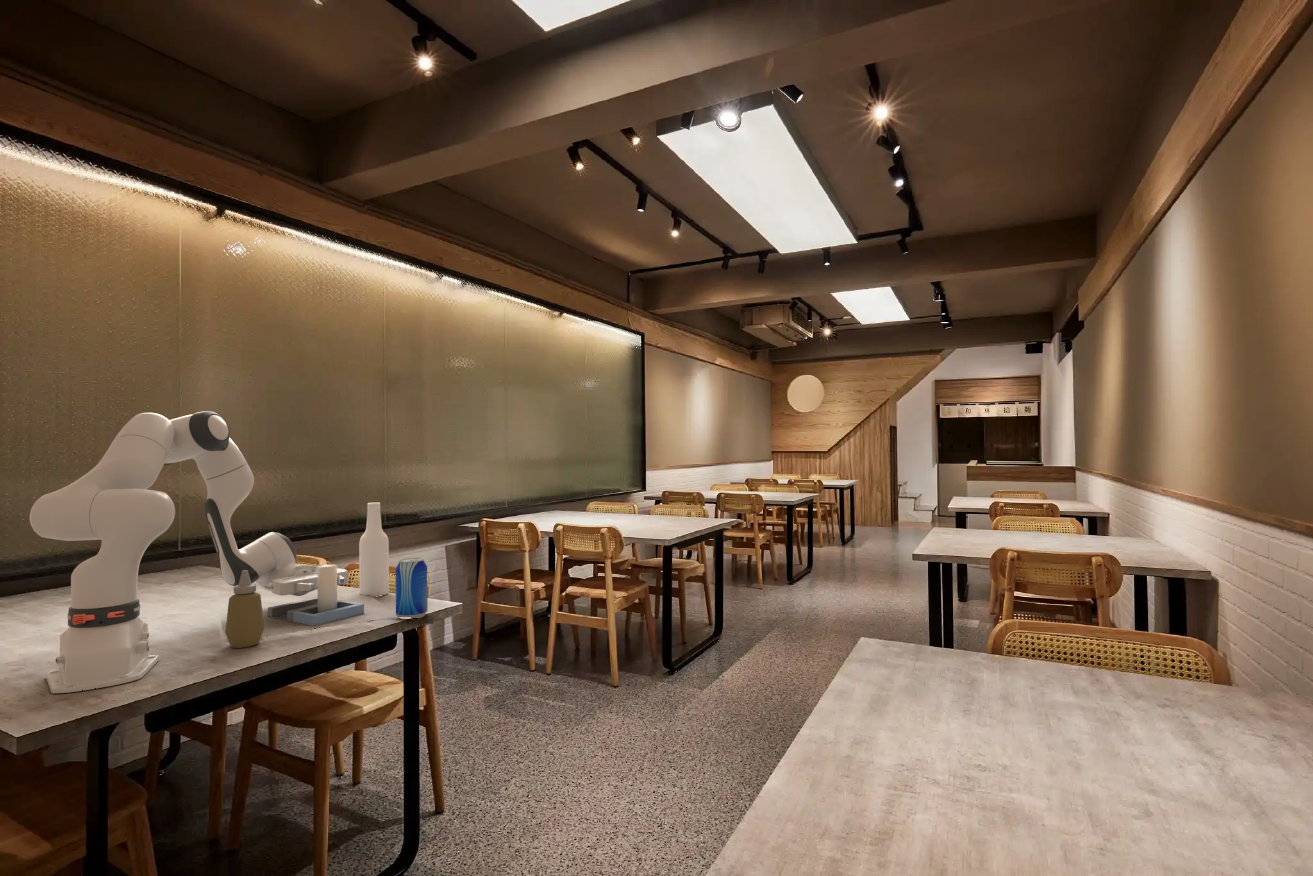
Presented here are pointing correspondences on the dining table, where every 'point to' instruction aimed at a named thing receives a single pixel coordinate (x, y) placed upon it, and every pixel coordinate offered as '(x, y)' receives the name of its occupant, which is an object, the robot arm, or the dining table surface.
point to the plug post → (327, 587)
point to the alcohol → (374, 555)
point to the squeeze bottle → (244, 614)
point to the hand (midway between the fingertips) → (328, 584)
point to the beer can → (411, 588)
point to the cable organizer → (314, 612)
